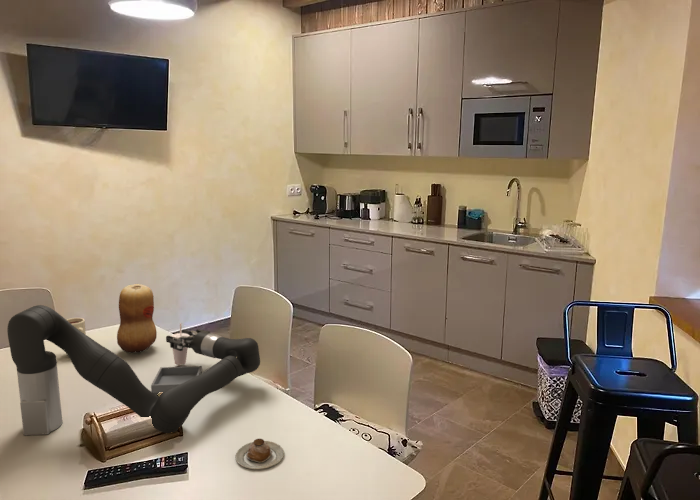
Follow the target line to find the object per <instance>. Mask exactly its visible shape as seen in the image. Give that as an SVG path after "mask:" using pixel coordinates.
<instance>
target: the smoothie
mask: <svg viewBox="0 0 700 500" xmlns="http://www.w3.org/2000/svg"><path fill="white" fill-rule="evenodd" d="M182 324H183V323H182V322H179V333H178V332H177V333H174V334H171V335H170V336H172V337H177V338H180V337H181V336H190V335H189V334H186V333H182V330H183V329H182ZM177 341H179V340H177ZM179 342H180V341H179ZM183 344H184V339H183ZM188 349H189V348H187V347H184V348H183V351H179V350H176V349H173V348H172V354H173V359H174V360H173V361H174V365H176V366H177V365H178V366H180V365H185V364H186V363H187V357H188Z"/></svg>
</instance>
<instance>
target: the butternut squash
mask: <svg viewBox="0 0 700 500" xmlns="http://www.w3.org/2000/svg"><path fill="white" fill-rule="evenodd" d="M154 298H155V297H154V293H153V290H152V289H151V288H150V286H147V285H145V284H141V283H135V284H129V285H126V286H124V287H123V288H122V289H121V291H120V293H119V298H118V312H119V321H120V323H119V327H118V329H117V332H116V340H117V341H116V342H117V345H118V347H119V348H120V349H121V350H122V351H124V352H126V353H130V354H131V353H136V354H137V353H144V352H145V351H146V350H148V349H149V348H150V347H151V346H152V345H154V343H155V341H157V335H158V334H157V333H158V332H157V327H156V324H155V322H154V320H153V315H154V311H155V304H154Z"/></svg>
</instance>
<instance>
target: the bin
mask: <svg viewBox="0 0 700 500" xmlns="http://www.w3.org/2000/svg"><path fill="white" fill-rule="evenodd" d="M202 367H203V366H202V365H197V366H196V365H193V366H191V365H190V366H168V367H167V366H163V367H162V366H161V367H160V368H159V369H158V372H157V374H156V376H155V377H154V379H153V381H152V383H151V384H150V388H151V390H150V391H151V392H153V393H154V394H156V395H157V394H158V393H159V392H165V391H167V390H168V389H170V388H173V387H175V386H177V385H179V384H182V383H184V382H186V381H188V380H190V379H192V378H194V377H196V376H198V375H200V374H201V373H203V368H202Z"/></svg>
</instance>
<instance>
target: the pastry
mask: <svg viewBox="0 0 700 500" xmlns="http://www.w3.org/2000/svg"><path fill="white" fill-rule="evenodd" d="M273 453H274V454H275V457H274V458H273V460H272V461H271V462H269V463H267V464H265V465H252V464H249V463H247V462H246V460H245V455H246V458H247V459H248V460H249V461H251V462H256V463H259V464H262V463H264V462H266V461H267V460H269V458H271V456H272V455H273ZM234 456H235V461H236V462H237V464H238V465H239V466H242V467H243V468H246V469H250V470H264V469H268V468H272V467H275V466H276V465H277V464H279V463H280V462H281V461H282V460H283V458H284V456H285V450H284V448H283V447H282V446H281V445H280V444H278V443H276V442H274V441H269V440H264V439H263V438H255V439H254V440H253V441H252V442H249V443H246V444H244V445H243V446H241V447H240V448H239V449H238V450H237V451H236V452H235V455H234Z"/></svg>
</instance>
